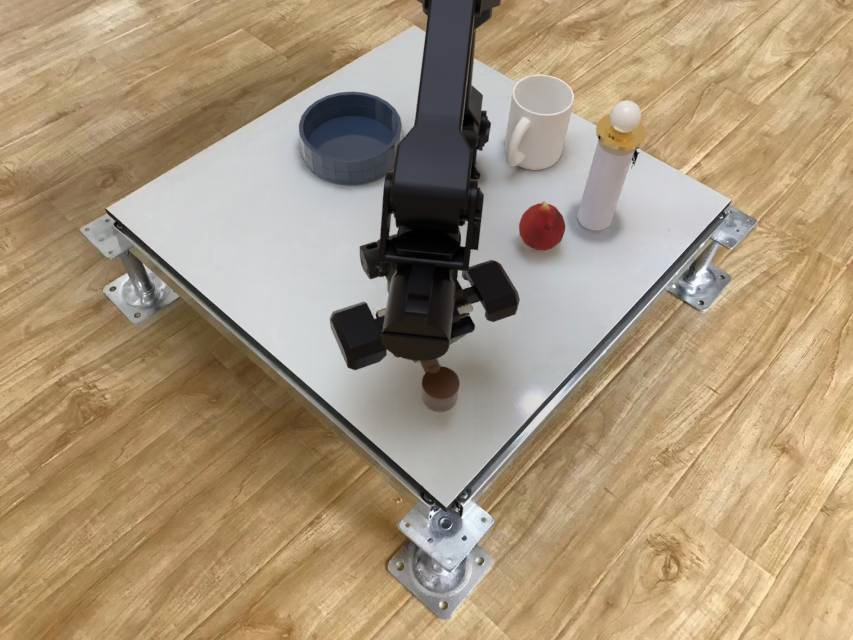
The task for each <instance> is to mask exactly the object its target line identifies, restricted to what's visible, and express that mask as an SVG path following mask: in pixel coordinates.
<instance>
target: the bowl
mask: <svg viewBox="0 0 853 640" xmlns="http://www.w3.org/2000/svg"><path fill="white" fill-rule="evenodd" d="M298 134H299V141H300V147H301V148H300V149H301V155H302V158H303V161H304V163H305V165H306V167H307V168H308V169H309V170H310V171H311V172H312V173H313V174H314V175H316V176H317V177H319V178H320V179H322V180H324V181H326V182H329V183H333V184H336V185H343V186H358V185H359V186H360V185H365V184H369V183H371V182H375V181H378V180H380V179H382V178H384V177H385V176H386V172H387V171H393V170H394V164H395V157H396V150H397V146H398V144H399V143H400V141H401V140H402V139H403V125H402V118H401V116H400V113H398V111H397V109H396V108H395V107H394V106H393V105H392V104H390V102H388V101H387V100H385V99H383V98H382V97H380V96H377V95H376V94H375V95H374V94H371V93H368V92H361V91H341V92H336V93H331V94H328V95H325V96H324V97H321V98H319V99H317V100H315V101H314V102H312V103H311V104H310V105H309V106H308V107H307V108H306V109H305V110H304V111H303V113H302V114H301V116H300V120H299V122H298Z"/></svg>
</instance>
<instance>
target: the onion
mask: <svg viewBox="0 0 853 640" xmlns="http://www.w3.org/2000/svg"><path fill="white" fill-rule="evenodd" d="M518 231H519V236H520V238H521V239H522V241H523V243H524V244H525V245H526V246H527V247H529V248H530V249H532V250H535V251H539V252H540V251H543V252H545V251H548V250H552V249H553V248H555V247H556V246H557V245H559V244H560V243H561V242H562V240H563V238H564V235H565V232H566V222H565V219H564V215H563V214H562V213H561V212H560V211H559V209H558V208H557V207H556V206H555V205H553V204H550V203H547V201H542V202H541V203H540V202H538V203H536V204H533V205H532V206H529V208H527V209H526V210H525V211H524V213H522V216H521V218H520V221H519V223H518Z"/></svg>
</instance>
